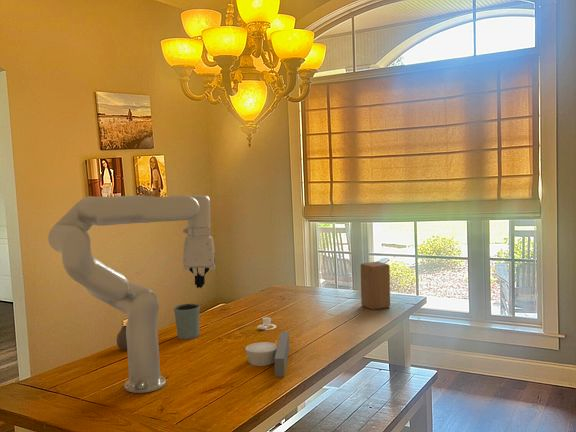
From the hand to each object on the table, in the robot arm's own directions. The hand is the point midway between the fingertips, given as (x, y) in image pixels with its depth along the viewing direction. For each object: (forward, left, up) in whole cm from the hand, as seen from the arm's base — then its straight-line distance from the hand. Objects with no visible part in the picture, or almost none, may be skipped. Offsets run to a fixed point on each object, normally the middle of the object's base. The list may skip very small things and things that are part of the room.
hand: (199, 286), depth 193 cm
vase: (+20, +34, -28) cm, 48 cm away
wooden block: (+74, -64, -28) cm, 102 cm away
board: (+5, -26, -28) cm, 39 cm away
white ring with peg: (+45, -14, -29) cm, 55 cm away
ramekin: (+5, -19, -28) cm, 34 cm away
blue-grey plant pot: (+35, +14, -28) cm, 47 cm away
